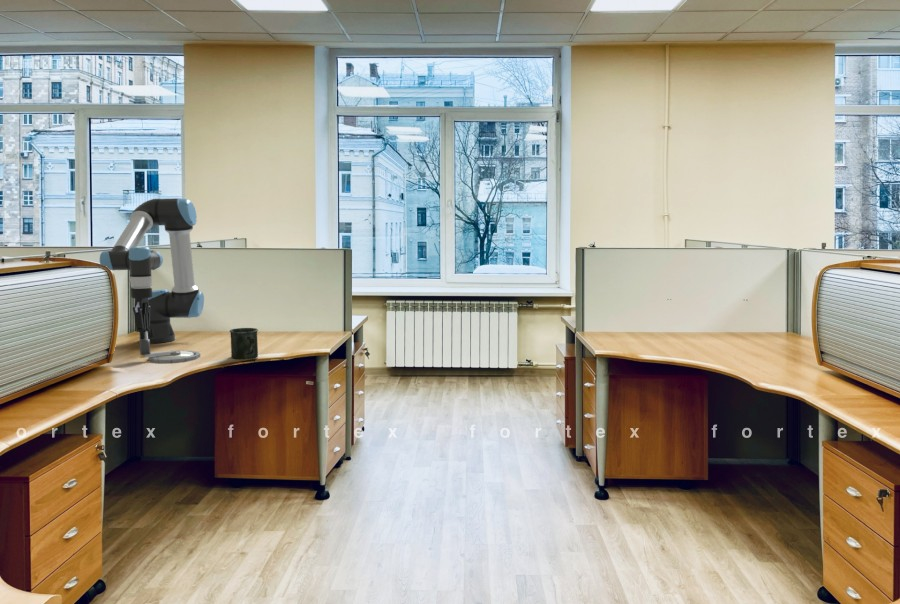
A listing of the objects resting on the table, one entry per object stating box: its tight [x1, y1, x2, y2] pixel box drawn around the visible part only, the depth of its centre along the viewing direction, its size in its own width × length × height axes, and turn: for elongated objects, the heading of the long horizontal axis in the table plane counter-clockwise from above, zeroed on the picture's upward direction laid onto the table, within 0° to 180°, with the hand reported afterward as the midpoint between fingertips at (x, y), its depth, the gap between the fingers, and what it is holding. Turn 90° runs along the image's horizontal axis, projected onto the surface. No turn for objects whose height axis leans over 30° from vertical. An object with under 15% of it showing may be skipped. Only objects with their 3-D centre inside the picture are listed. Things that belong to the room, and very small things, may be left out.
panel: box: [140, 350, 201, 364], centre depth 278 cm, size 26×26×2 cm
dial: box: [138, 339, 194, 359], centre depth 276 cm, size 20×14×8 cm
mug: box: [228, 327, 259, 363], centre depth 278 cm, size 11×15×12 cm
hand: (144, 348), depth 274 cm, fingers closed
